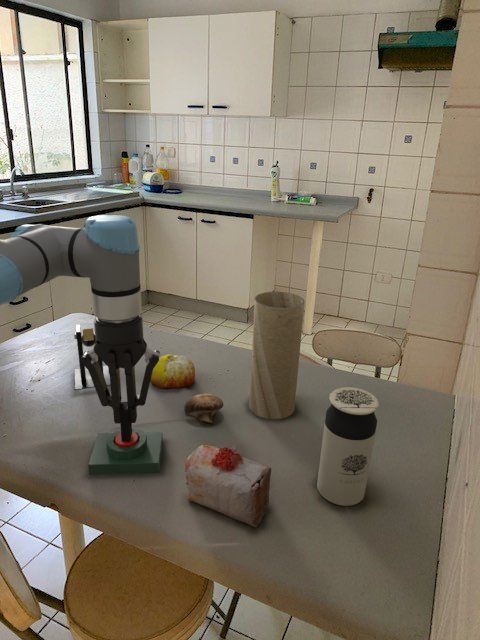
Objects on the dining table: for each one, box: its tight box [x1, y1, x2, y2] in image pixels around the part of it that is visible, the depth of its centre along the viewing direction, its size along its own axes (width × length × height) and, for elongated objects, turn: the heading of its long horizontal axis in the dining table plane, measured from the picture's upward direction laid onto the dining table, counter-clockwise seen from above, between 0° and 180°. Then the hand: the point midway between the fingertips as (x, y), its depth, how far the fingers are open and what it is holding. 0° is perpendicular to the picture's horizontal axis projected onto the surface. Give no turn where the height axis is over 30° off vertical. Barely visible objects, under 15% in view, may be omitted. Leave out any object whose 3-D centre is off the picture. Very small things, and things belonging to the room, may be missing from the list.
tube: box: [248, 291, 305, 420], centre depth 97 cm, size 10×10×25 cm
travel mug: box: [316, 386, 380, 507], centre depth 75 cm, size 8×8×18 cm
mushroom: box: [183, 393, 224, 424], centre depth 96 cm, size 8×8×6 cm
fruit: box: [150, 353, 196, 390], centre depth 109 cm, size 11×10×8 cm
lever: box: [82, 327, 96, 348], centre depth 110 cm, size 13×4×4 cm, turn 19°
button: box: [115, 432, 138, 447], centre depth 83 cm, size 4×4×2 cm
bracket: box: [73, 324, 111, 391], centre depth 107 cm, size 10×8×14 cm
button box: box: [87, 427, 164, 476], centre depth 84 cm, size 12×9×4 cm
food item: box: [184, 444, 272, 529], centre depth 74 cm, size 14×8×10 cm, turn 63°
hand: (127, 436), depth 83 cm, fingers closed
